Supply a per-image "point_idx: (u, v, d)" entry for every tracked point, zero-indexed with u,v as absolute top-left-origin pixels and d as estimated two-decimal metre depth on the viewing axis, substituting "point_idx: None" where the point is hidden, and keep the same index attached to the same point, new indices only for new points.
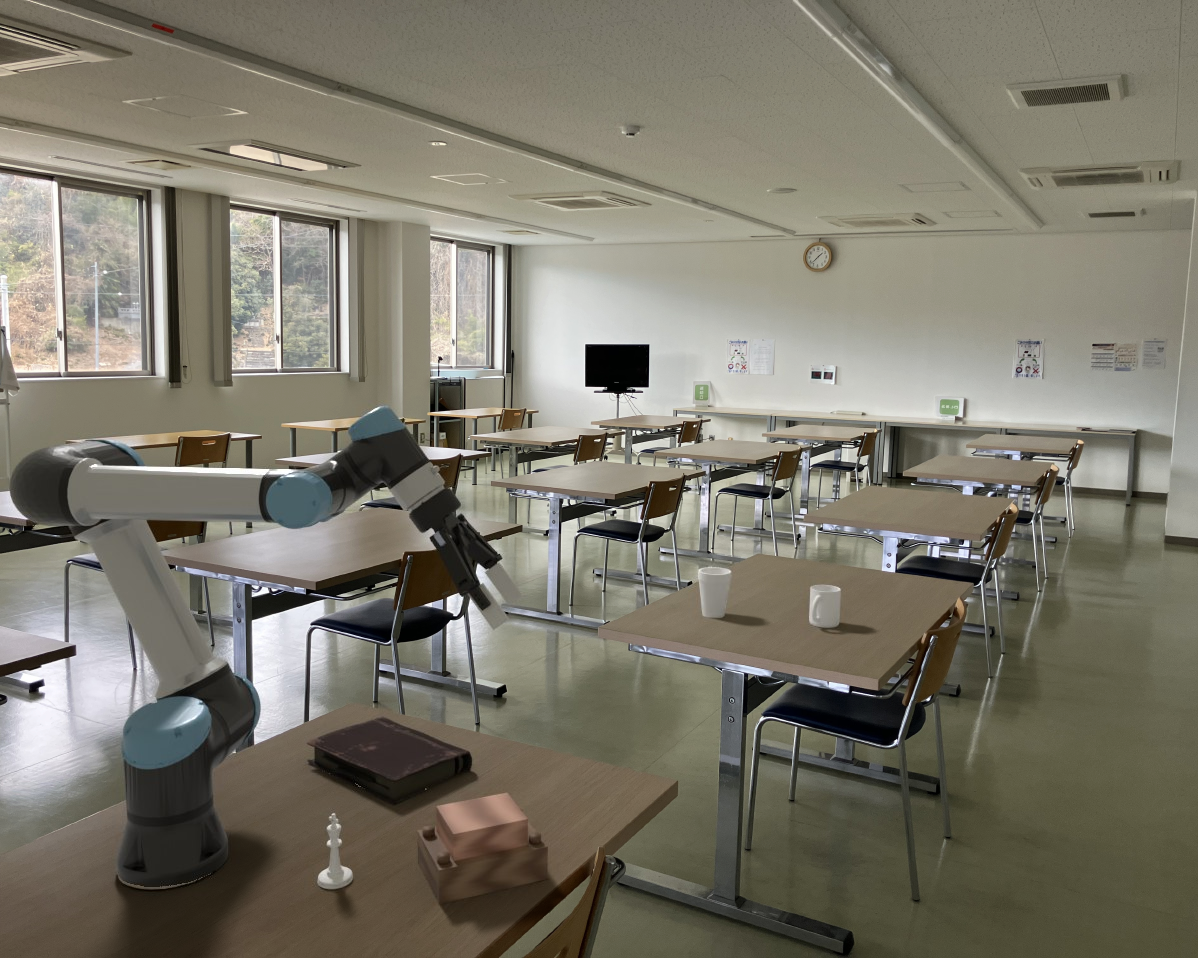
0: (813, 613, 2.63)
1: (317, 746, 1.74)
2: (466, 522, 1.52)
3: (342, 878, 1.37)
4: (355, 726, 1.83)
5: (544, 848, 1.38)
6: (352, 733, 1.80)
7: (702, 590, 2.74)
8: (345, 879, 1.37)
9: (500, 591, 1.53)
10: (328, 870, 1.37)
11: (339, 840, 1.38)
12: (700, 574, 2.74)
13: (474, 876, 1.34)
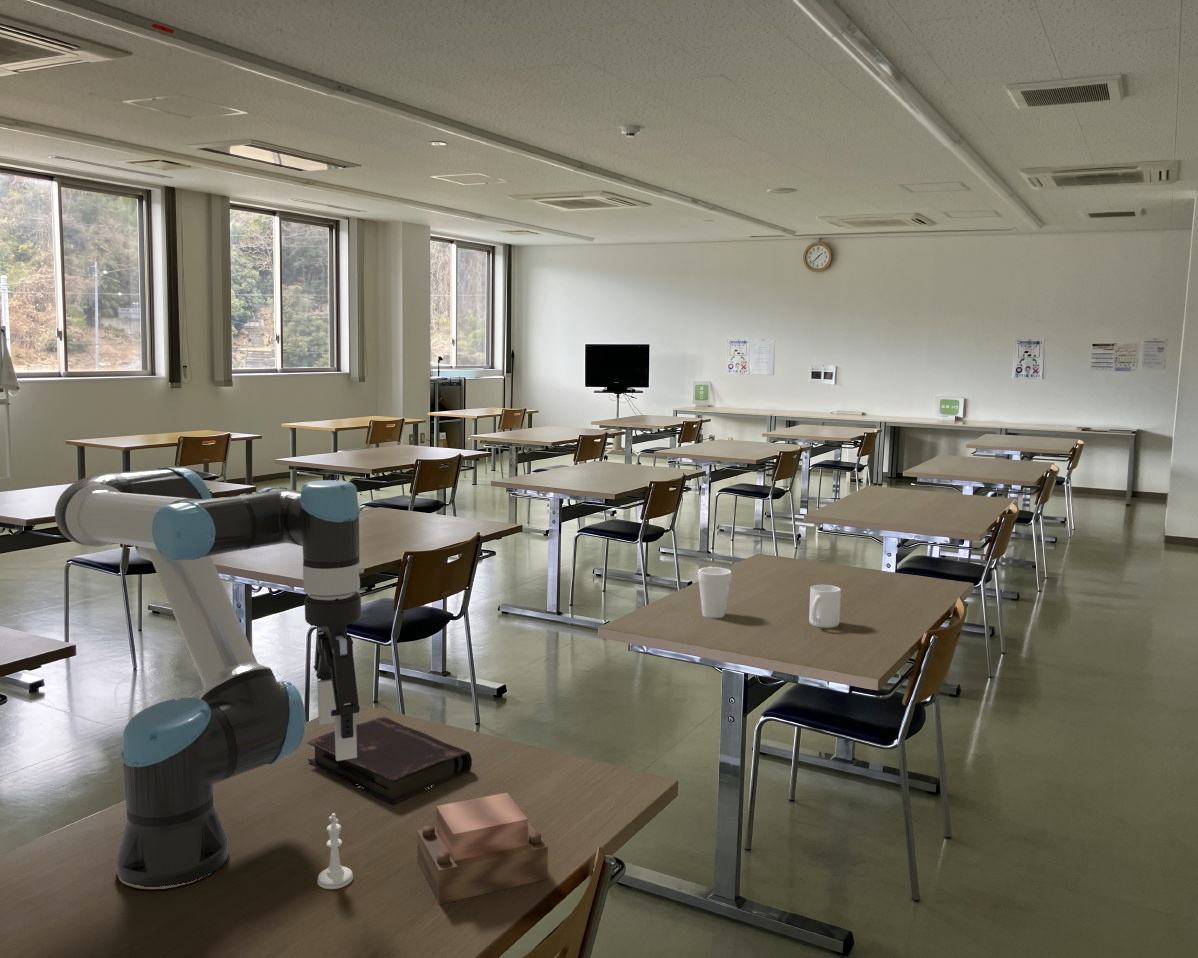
0: (813, 613, 2.63)
1: (317, 745, 1.74)
2: None
3: (342, 878, 1.37)
4: (356, 726, 1.83)
5: (544, 848, 1.38)
6: None
7: (702, 590, 2.74)
8: (345, 879, 1.37)
9: (320, 708, 1.41)
10: (328, 870, 1.37)
11: (339, 840, 1.38)
12: (700, 574, 2.74)
13: (474, 876, 1.34)
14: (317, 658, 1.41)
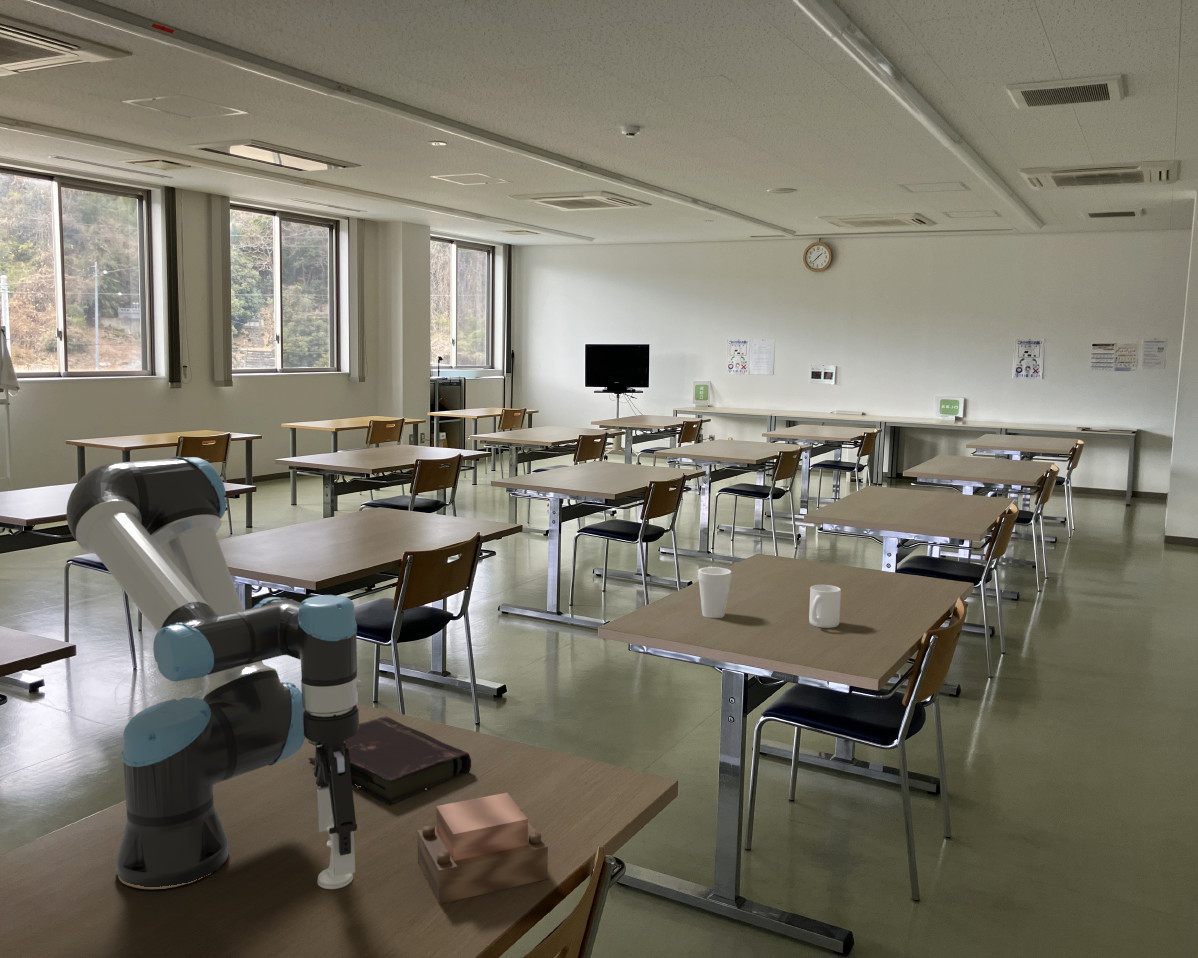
0: (813, 613, 2.63)
1: None
2: None
3: (342, 878, 1.37)
4: None
5: (544, 848, 1.38)
6: None
7: (702, 590, 2.74)
8: (345, 879, 1.37)
9: (320, 815, 1.42)
10: (328, 870, 1.37)
11: None
12: (700, 574, 2.74)
13: (474, 876, 1.34)
14: (317, 765, 1.43)
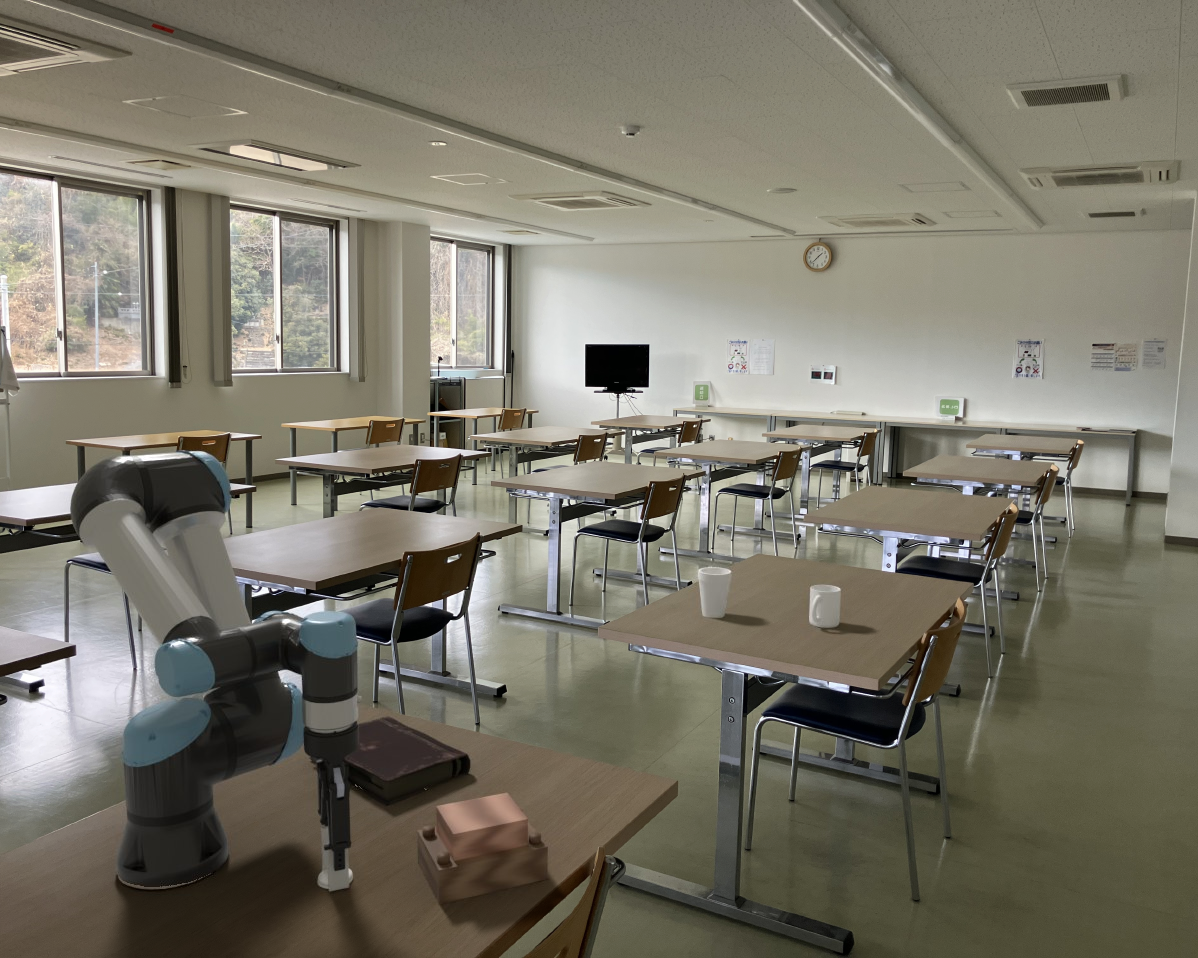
0: (813, 613, 2.63)
1: None
2: None
3: None
4: (359, 725, 1.84)
5: (544, 848, 1.38)
6: None
7: (702, 590, 2.74)
8: None
9: (324, 854, 1.40)
10: None
11: None
12: (700, 574, 2.74)
13: (474, 876, 1.34)
14: (320, 798, 1.41)
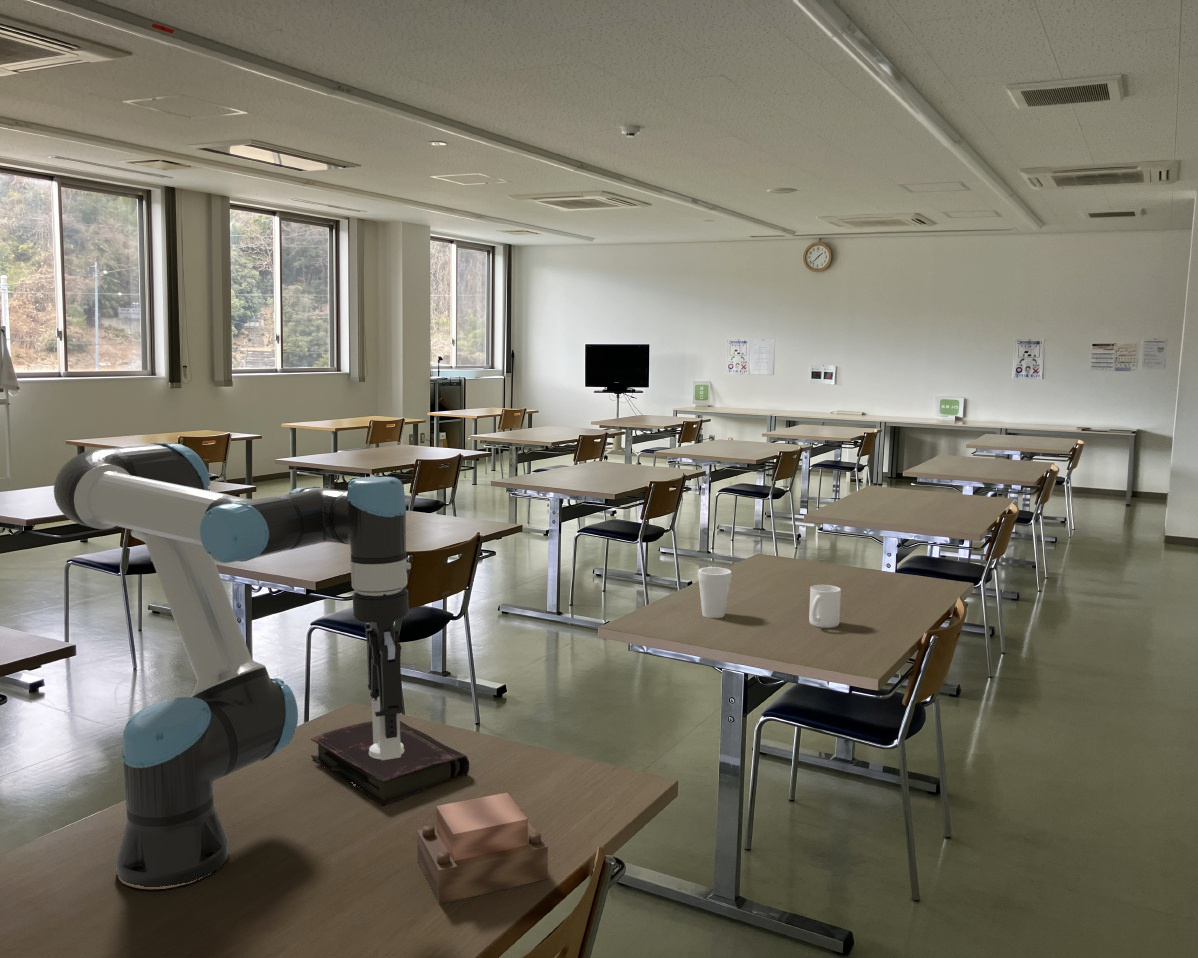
0: (813, 613, 2.63)
1: (319, 742, 1.76)
2: None
3: None
4: (362, 724, 1.84)
5: (544, 848, 1.38)
6: (356, 731, 1.81)
7: (702, 590, 2.74)
8: None
9: (375, 728, 1.37)
10: (379, 741, 1.35)
11: None
12: (700, 574, 2.74)
13: (474, 876, 1.34)
14: (370, 672, 1.39)
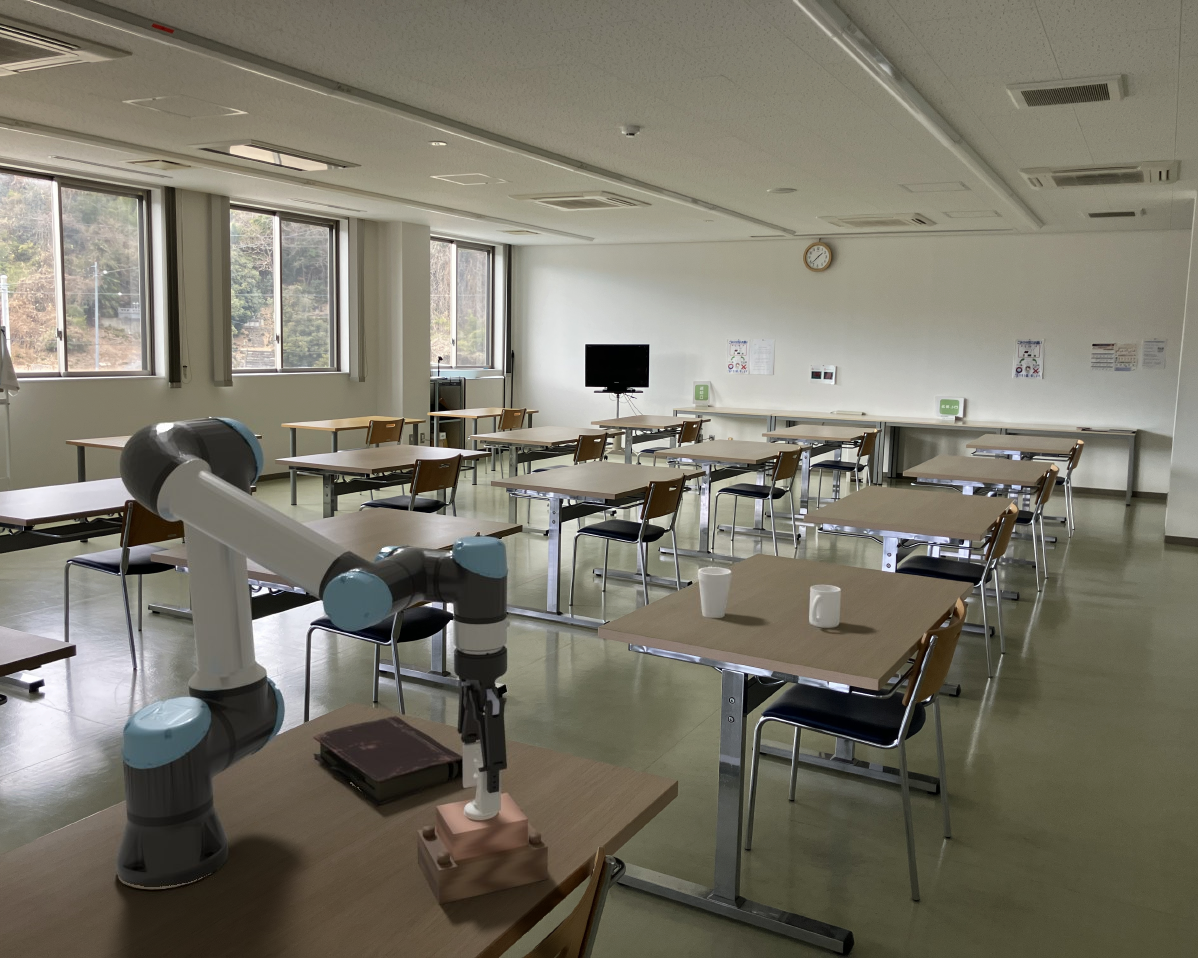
0: (813, 613, 2.63)
1: (321, 741, 1.76)
2: None
3: None
4: (365, 723, 1.84)
5: (544, 848, 1.38)
6: (359, 730, 1.81)
7: (702, 590, 2.74)
8: None
9: (465, 771, 1.42)
10: (474, 802, 1.39)
11: None
12: (700, 574, 2.74)
13: (474, 876, 1.34)
14: (461, 718, 1.43)
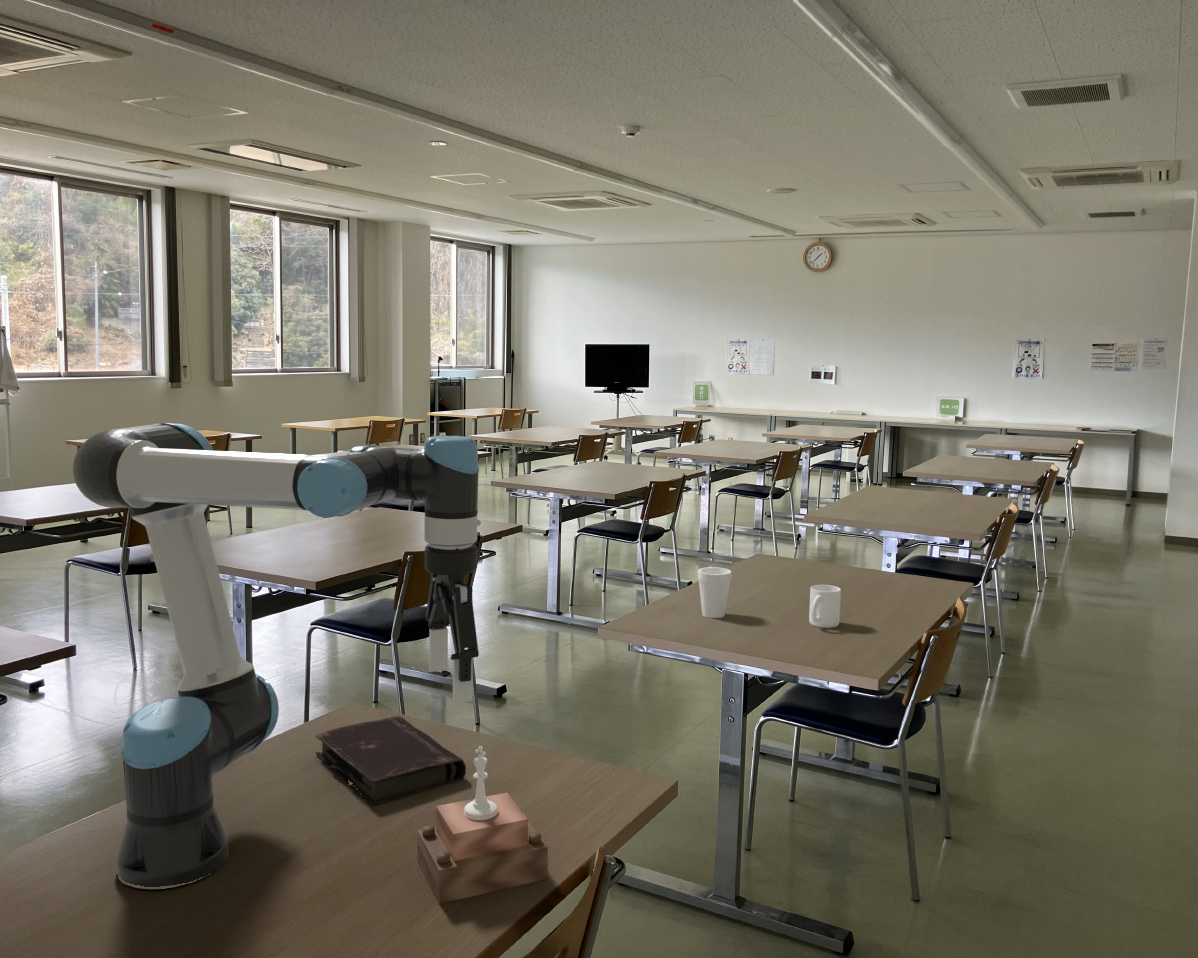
0: (813, 613, 2.63)
1: (322, 740, 1.77)
2: None
3: (489, 809, 1.39)
4: (368, 723, 1.85)
5: (544, 848, 1.38)
6: (361, 729, 1.82)
7: (702, 590, 2.74)
8: (492, 811, 1.39)
9: (432, 655, 1.47)
10: (474, 802, 1.39)
11: (485, 773, 1.39)
12: (700, 574, 2.74)
13: (474, 876, 1.34)
14: (429, 608, 1.47)
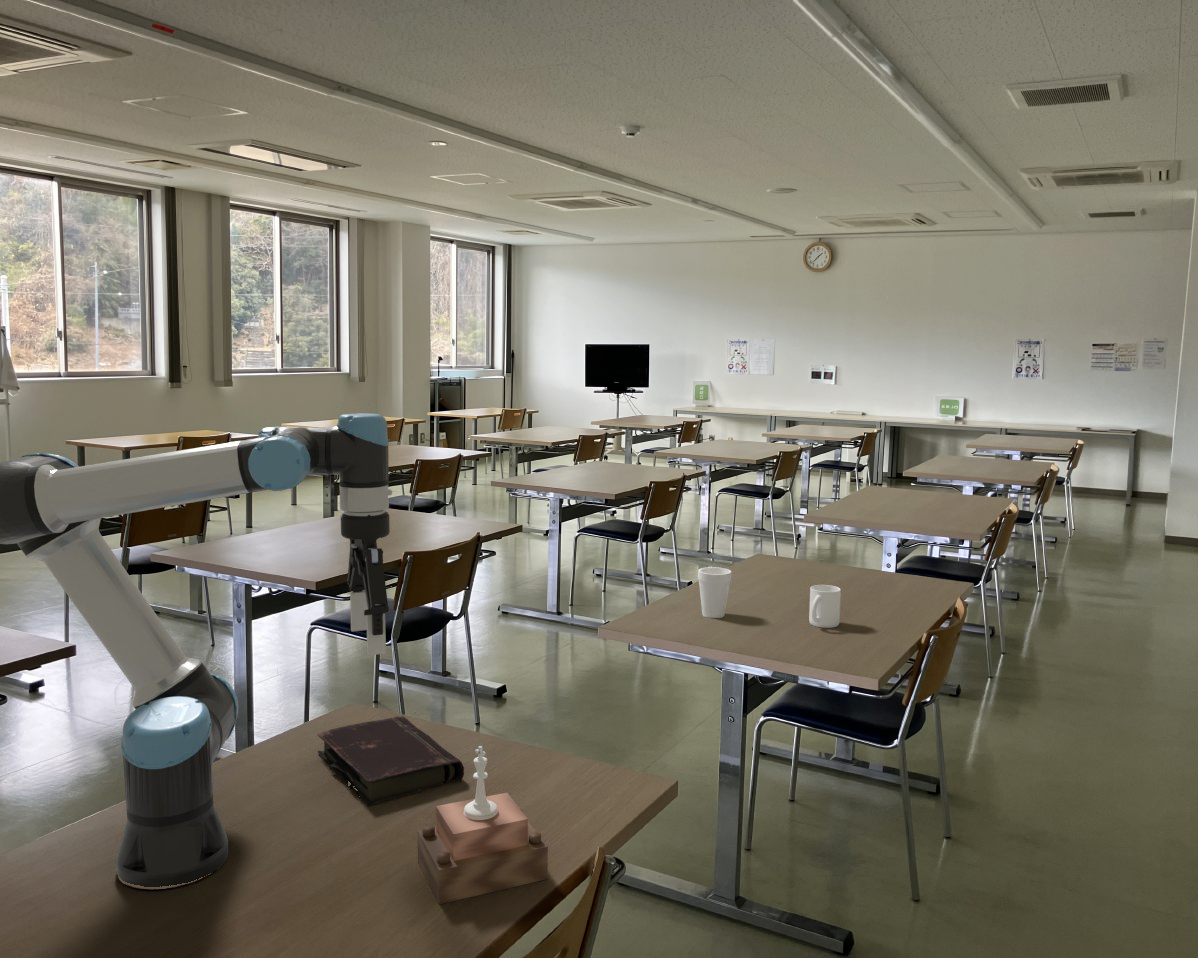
0: (813, 613, 2.63)
1: (324, 738, 1.77)
2: None
3: (489, 809, 1.39)
4: (370, 723, 1.85)
5: (544, 848, 1.38)
6: (363, 729, 1.82)
7: (702, 590, 2.74)
8: (492, 811, 1.39)
9: (353, 616, 1.60)
10: (474, 802, 1.39)
11: (485, 773, 1.39)
12: (700, 574, 2.74)
13: (474, 876, 1.34)
14: (350, 573, 1.61)
